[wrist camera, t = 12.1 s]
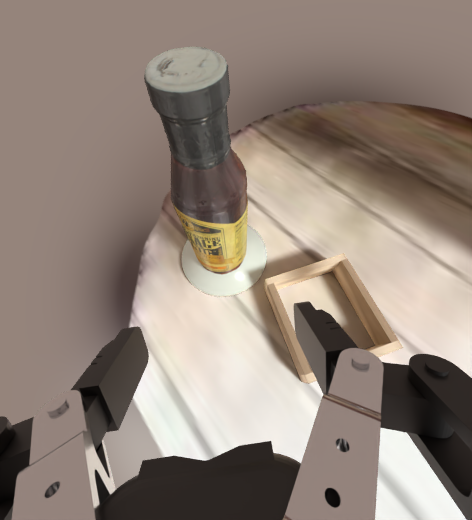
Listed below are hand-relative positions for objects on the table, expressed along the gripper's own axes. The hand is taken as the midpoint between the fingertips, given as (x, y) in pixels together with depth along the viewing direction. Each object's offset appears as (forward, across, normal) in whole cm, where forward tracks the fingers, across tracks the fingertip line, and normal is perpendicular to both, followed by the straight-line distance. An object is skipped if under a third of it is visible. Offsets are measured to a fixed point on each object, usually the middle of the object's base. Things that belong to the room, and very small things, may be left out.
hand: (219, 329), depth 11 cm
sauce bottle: (+17, 0, +1) cm, 17 cm away
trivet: (+18, 0, +2) cm, 18 cm away
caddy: (+11, -10, +8) cm, 17 cm away
